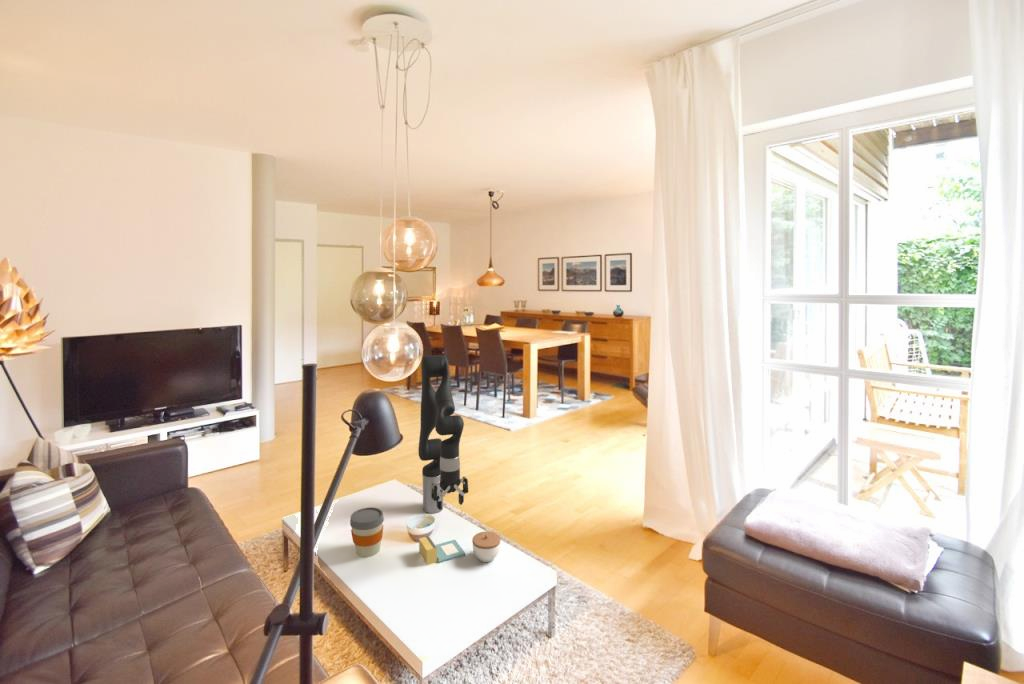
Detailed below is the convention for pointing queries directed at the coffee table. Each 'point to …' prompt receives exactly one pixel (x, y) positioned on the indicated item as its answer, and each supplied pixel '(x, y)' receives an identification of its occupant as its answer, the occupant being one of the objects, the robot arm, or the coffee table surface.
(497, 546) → the lidded jar
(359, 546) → the reusable coffee cup
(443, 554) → the spiral notebook
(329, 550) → the coffee table surface
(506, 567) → the coffee table surface
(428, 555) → the yellow box with stripe
